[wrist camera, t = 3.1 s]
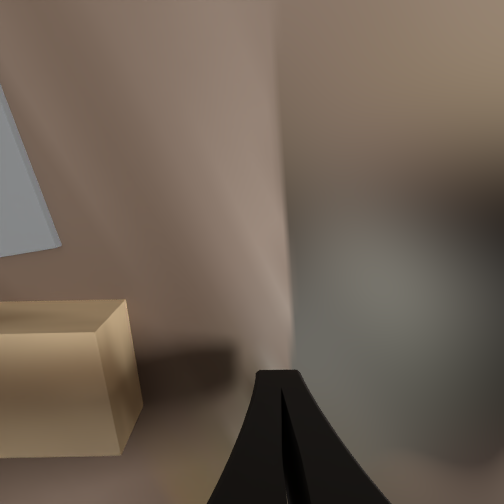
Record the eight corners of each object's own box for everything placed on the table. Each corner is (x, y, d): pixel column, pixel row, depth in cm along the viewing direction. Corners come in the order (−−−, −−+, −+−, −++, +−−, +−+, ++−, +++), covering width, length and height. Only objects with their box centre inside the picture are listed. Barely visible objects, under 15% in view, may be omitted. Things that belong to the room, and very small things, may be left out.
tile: (145, 399, 12) (120, 455, 10) (31, 402, 12) (-21, 458, 10) (129, 295, 11) (94, 332, 9) (-1, 298, 11) (-71, 335, 9)
